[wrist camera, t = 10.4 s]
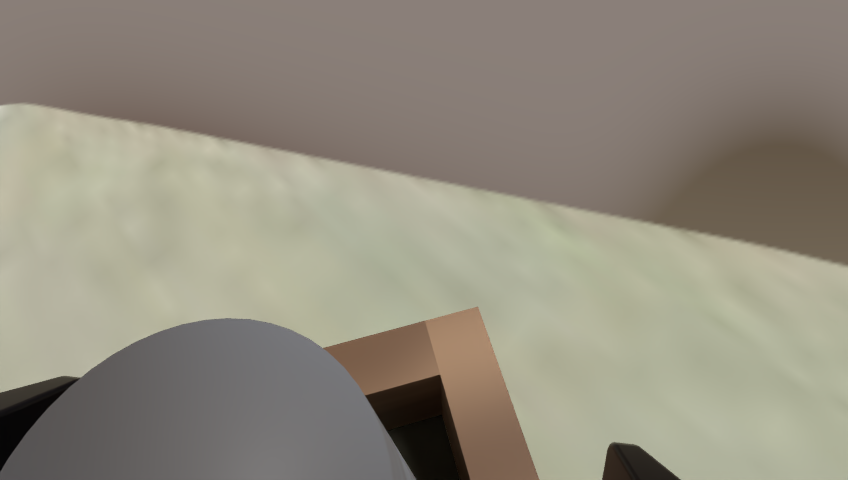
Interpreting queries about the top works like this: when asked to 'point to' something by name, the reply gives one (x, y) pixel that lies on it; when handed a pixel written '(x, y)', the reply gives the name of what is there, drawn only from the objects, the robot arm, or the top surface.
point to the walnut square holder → (444, 390)
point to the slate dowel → (211, 414)
